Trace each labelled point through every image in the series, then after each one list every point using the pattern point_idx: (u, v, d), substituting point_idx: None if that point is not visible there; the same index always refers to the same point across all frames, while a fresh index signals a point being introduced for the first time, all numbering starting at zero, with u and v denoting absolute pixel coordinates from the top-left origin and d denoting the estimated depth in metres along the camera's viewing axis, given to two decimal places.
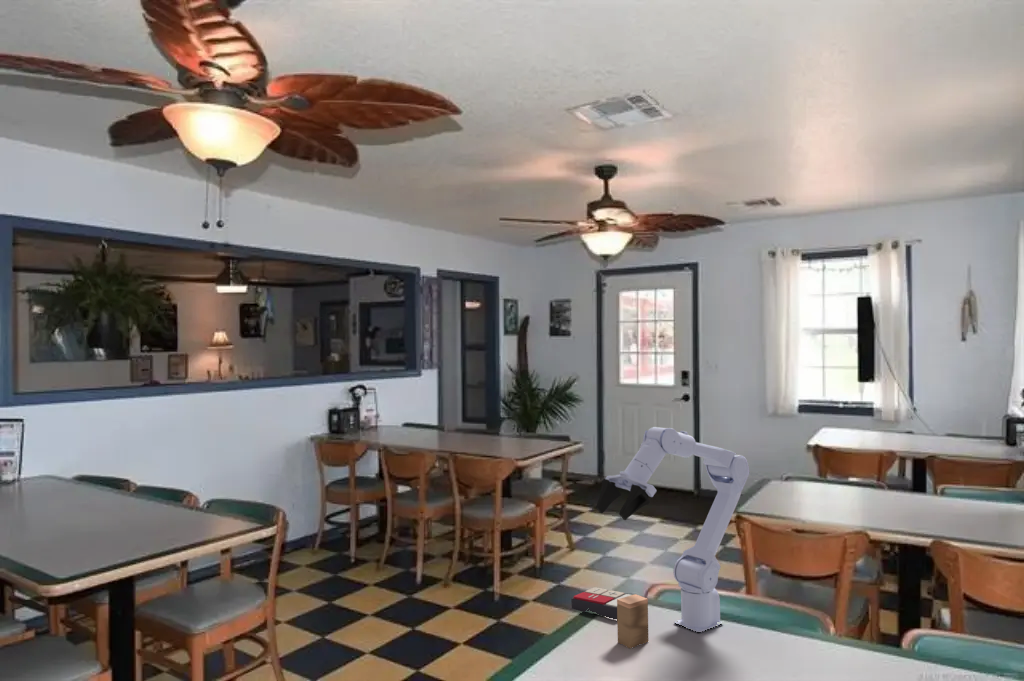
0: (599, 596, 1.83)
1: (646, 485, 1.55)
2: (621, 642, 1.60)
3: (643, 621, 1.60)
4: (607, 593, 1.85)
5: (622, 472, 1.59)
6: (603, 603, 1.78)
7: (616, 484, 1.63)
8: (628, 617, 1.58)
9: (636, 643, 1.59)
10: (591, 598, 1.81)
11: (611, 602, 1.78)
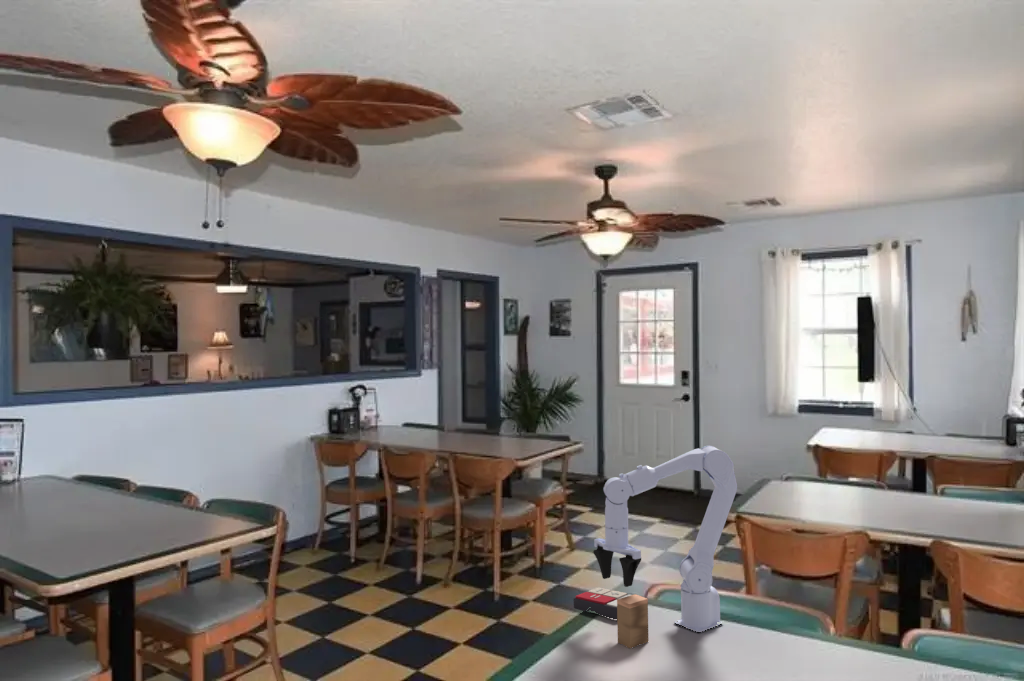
0: (601, 596, 1.83)
1: (630, 552, 1.67)
2: (621, 642, 1.60)
3: (643, 621, 1.60)
4: (609, 593, 1.85)
5: (605, 548, 1.70)
6: (604, 603, 1.78)
7: None
8: (628, 617, 1.58)
9: (636, 643, 1.59)
10: (593, 598, 1.81)
11: (612, 602, 1.78)
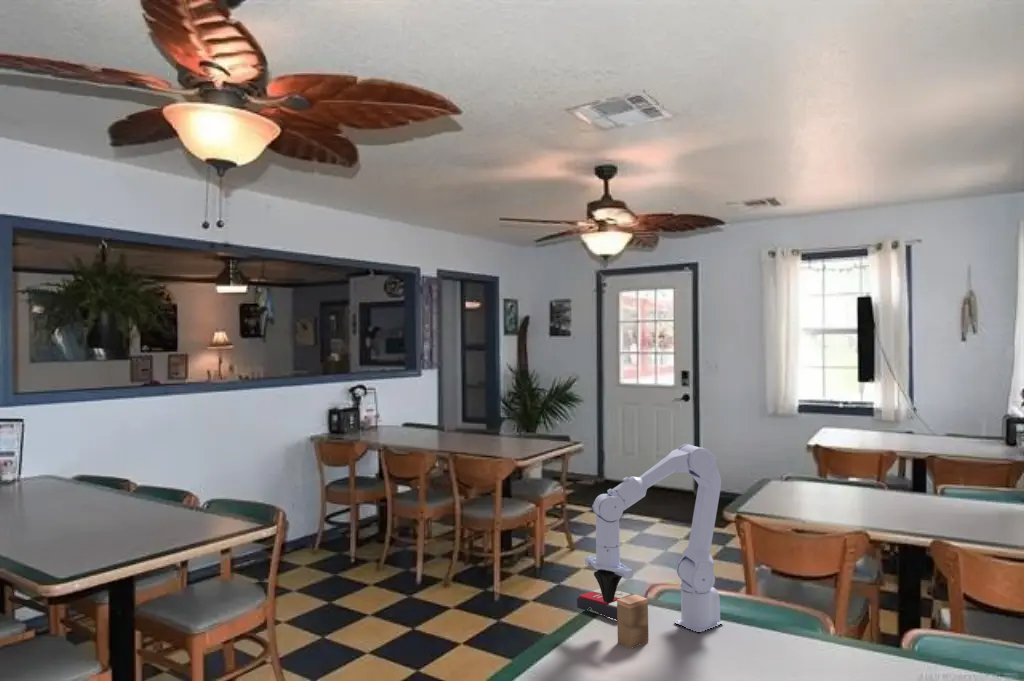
0: None
1: (621, 572, 1.63)
2: (621, 642, 1.60)
3: (643, 621, 1.60)
4: None
5: (596, 567, 1.66)
6: (606, 603, 1.78)
7: None
8: (628, 617, 1.58)
9: (636, 643, 1.59)
10: (595, 598, 1.81)
11: (614, 603, 1.77)
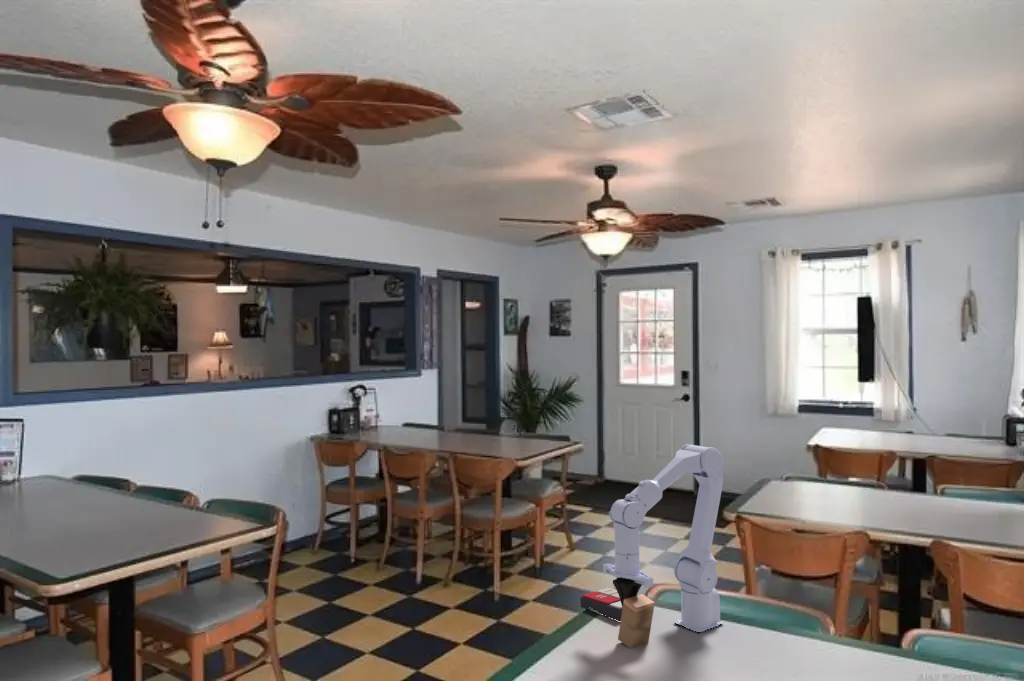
0: (607, 596, 1.82)
1: (642, 580, 1.57)
2: (621, 640, 1.60)
3: (647, 623, 1.59)
4: (617, 594, 1.84)
5: (615, 575, 1.60)
6: (607, 603, 1.77)
7: None
8: (633, 619, 1.57)
9: (636, 643, 1.59)
10: (598, 598, 1.81)
11: (616, 603, 1.77)
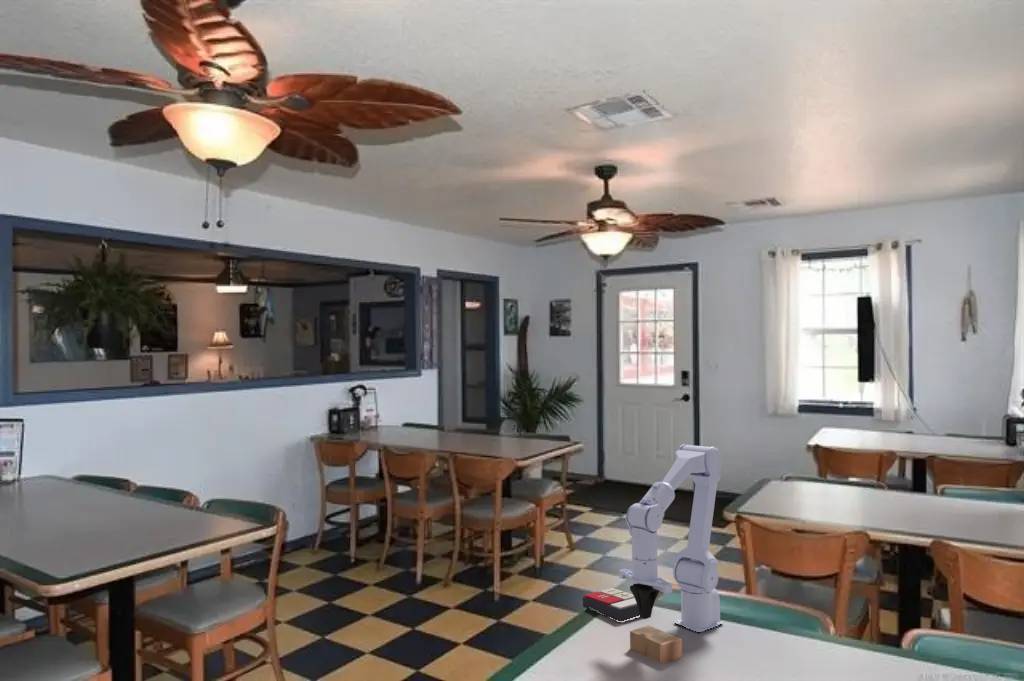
0: (609, 596, 1.82)
1: (660, 586, 1.53)
2: (631, 637, 1.57)
3: None
4: (619, 594, 1.84)
5: (632, 581, 1.56)
6: (608, 603, 1.77)
7: None
8: (653, 658, 1.52)
9: None
10: (600, 598, 1.81)
11: (617, 603, 1.77)
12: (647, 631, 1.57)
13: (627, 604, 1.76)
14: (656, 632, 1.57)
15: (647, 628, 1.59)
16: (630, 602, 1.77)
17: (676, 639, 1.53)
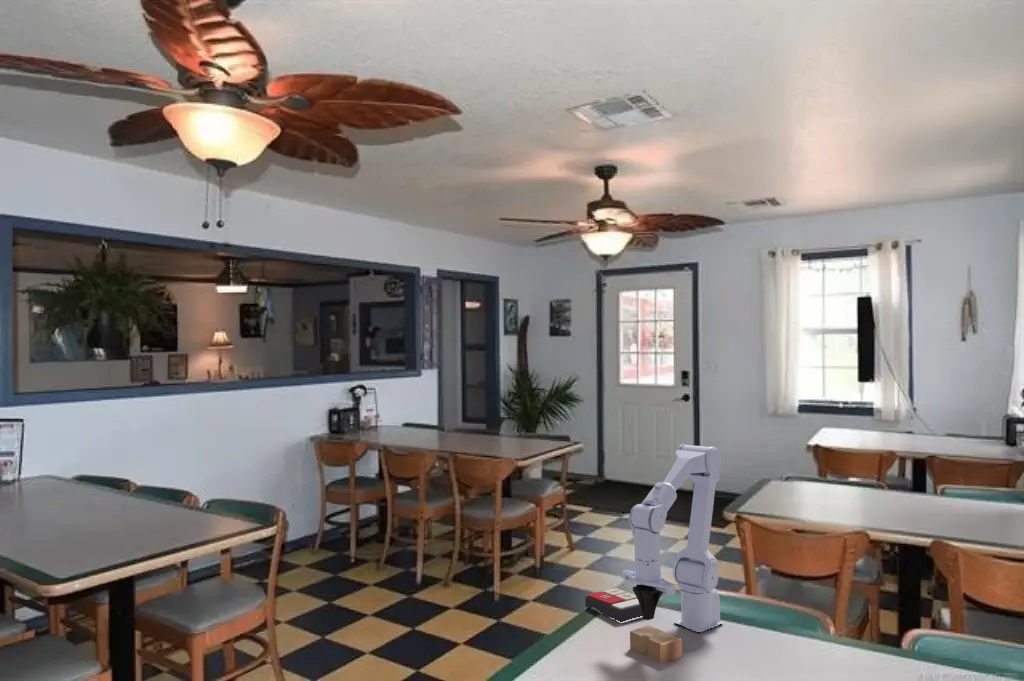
0: (611, 597, 1.82)
1: (664, 587, 1.52)
2: (631, 637, 1.57)
3: None
4: (622, 595, 1.84)
5: (635, 582, 1.55)
6: (609, 604, 1.77)
7: None
8: (653, 658, 1.52)
9: None
10: (602, 598, 1.81)
11: (618, 603, 1.77)
12: (647, 631, 1.57)
13: (628, 605, 1.76)
14: (656, 632, 1.57)
15: (647, 628, 1.59)
16: (631, 603, 1.77)
17: (676, 639, 1.53)
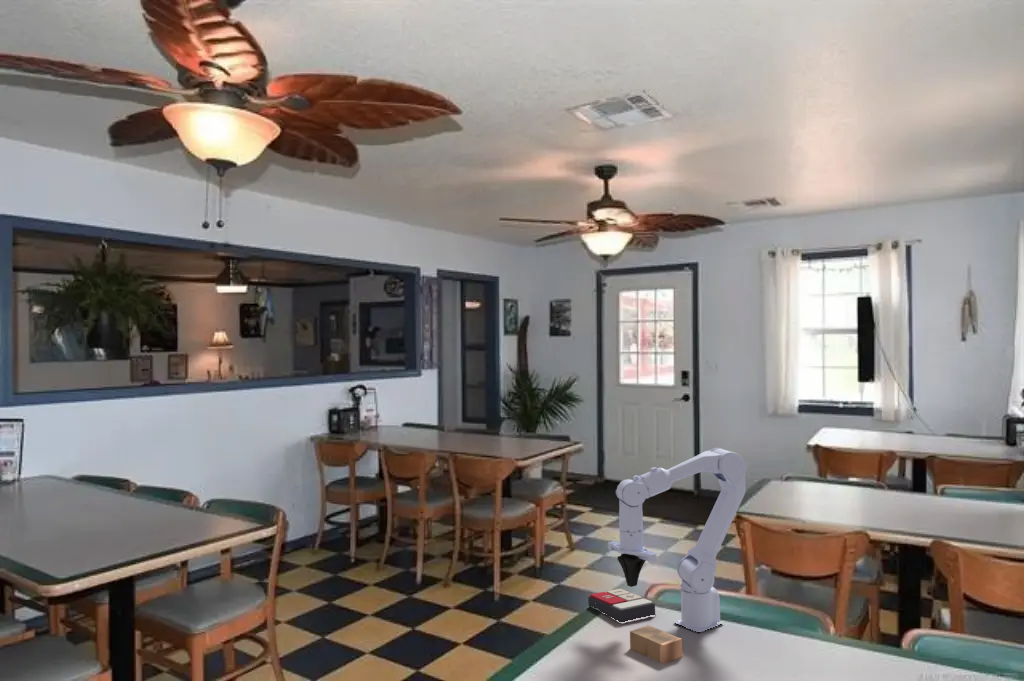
0: (614, 597, 1.82)
1: (645, 556, 1.65)
2: (631, 637, 1.57)
3: None
4: (625, 595, 1.83)
5: (619, 551, 1.68)
6: (611, 604, 1.77)
7: None
8: (653, 658, 1.52)
9: None
10: (604, 598, 1.81)
11: (619, 604, 1.76)
12: (647, 631, 1.57)
13: (629, 605, 1.75)
14: (656, 632, 1.57)
15: (648, 628, 1.59)
16: (633, 603, 1.76)
17: (676, 639, 1.53)
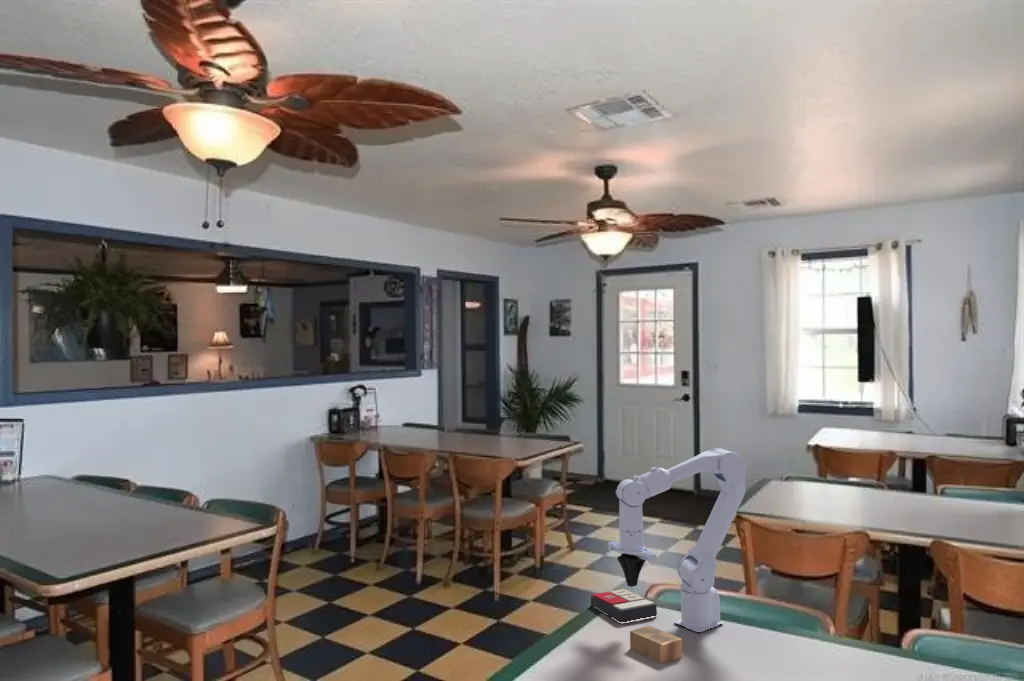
0: (616, 597, 1.82)
1: (645, 556, 1.65)
2: (631, 637, 1.57)
3: None
4: (627, 596, 1.83)
5: (619, 551, 1.68)
6: (612, 604, 1.77)
7: None
8: (653, 658, 1.52)
9: None
10: (606, 598, 1.81)
11: (620, 604, 1.76)
12: (647, 631, 1.57)
13: (630, 606, 1.75)
14: (656, 632, 1.57)
15: (647, 628, 1.59)
16: (634, 604, 1.76)
17: (676, 639, 1.53)
